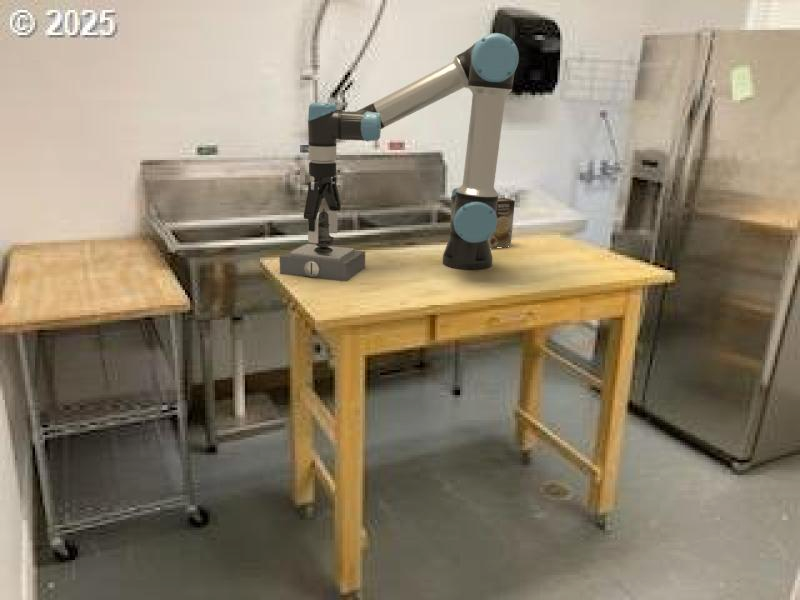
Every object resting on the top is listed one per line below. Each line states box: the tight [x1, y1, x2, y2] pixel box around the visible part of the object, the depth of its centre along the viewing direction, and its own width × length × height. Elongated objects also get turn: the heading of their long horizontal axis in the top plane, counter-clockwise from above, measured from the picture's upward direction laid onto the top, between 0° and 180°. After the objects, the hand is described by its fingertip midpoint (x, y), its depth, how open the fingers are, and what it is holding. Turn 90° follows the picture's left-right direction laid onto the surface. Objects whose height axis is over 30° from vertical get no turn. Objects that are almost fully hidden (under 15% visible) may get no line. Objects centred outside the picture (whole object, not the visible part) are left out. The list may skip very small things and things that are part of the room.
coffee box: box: [488, 197, 516, 248], centre depth 225 cm, size 9×6×16 cm
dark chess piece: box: [314, 207, 335, 252], centre depth 189 cm, size 6×6×12 cm
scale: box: [279, 243, 366, 282], centre depth 192 cm, size 20×16×6 cm
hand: (323, 237), depth 190 cm, fingers open, 13 cm apart
